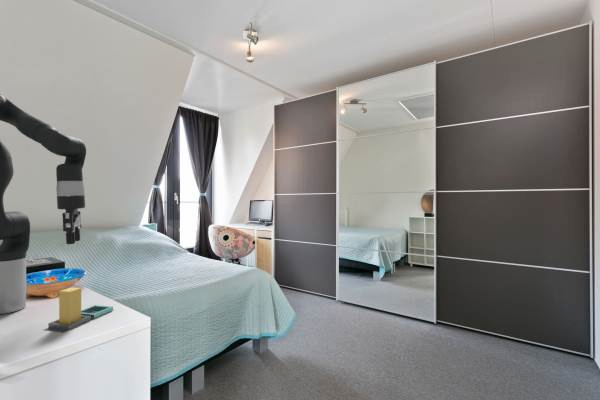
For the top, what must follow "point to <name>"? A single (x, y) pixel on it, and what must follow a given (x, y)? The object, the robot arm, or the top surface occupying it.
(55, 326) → the base
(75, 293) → the peg
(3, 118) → the robot arm
